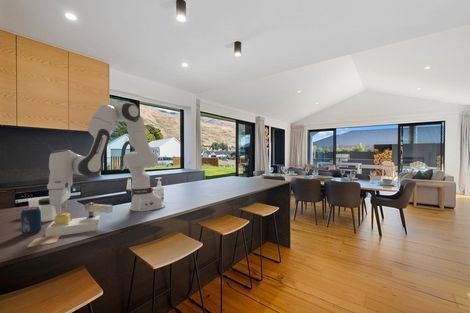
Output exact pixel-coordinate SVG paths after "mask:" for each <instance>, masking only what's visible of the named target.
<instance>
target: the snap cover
mask: <svg viewBox="0 0 470 313" xmlns="http://www.w3.org/2000/svg"><path fill="white" fill-rule="evenodd" d="M54 219H55V220H54V221H55V225H59V224H66V223H69V222H70V219H71V213H69V212H63V213H62V212H61V213H60V214H58V215H57V216H56V217H55V218H54Z"/></svg>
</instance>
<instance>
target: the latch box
mask: <svg viewBox="0 0 470 313" xmlns="http://www.w3.org/2000/svg"><path fill="white" fill-rule="evenodd" d="M100 225H101V215H94V217H89V216H86V217H85V216H84V217H83V216H82V217H78V218H77V217H75V218H70V222H69V223H66V224H59V225H55V220H53V221H52V222H51V223H50V224H49V225H48V226H46V228H45V229H44V232H45V236H44V237H50V236H56V235H61V236H68V235H74V234H80V233H87V232H88V233H89V232H95V231H98V230H99V228H100ZM61 236H60V237H61Z"/></svg>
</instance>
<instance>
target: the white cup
mask: <svg viewBox="0 0 470 313" xmlns="http://www.w3.org/2000/svg"><path fill="white" fill-rule="evenodd" d="M43 198H47V197H45V196H40V197H33V198H32V197H31V198H29V199H28V208H29V207H38V204H39V201H38V200H40V199H43Z"/></svg>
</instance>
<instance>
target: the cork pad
mask: <svg viewBox="0 0 470 313" xmlns="http://www.w3.org/2000/svg"><path fill="white" fill-rule="evenodd" d="M60 237H61V235H56V236H50V237H46V236H41V237H36V238H34V239H33V240H32V241H31V242H30V243H29V244H28V245H27V248H33V247H40V246H45V245H46V246H47V245H51V244H56V243H57V242H58V241H59V239H60Z"/></svg>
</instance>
